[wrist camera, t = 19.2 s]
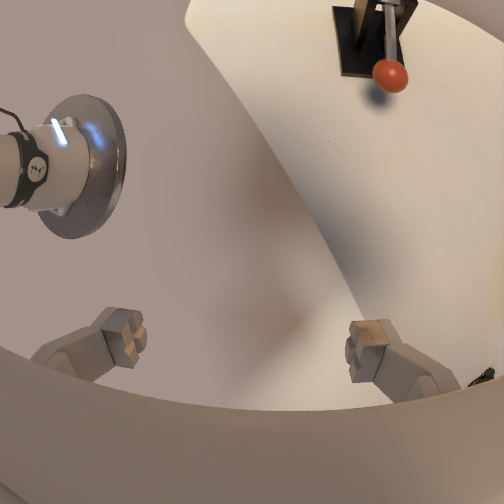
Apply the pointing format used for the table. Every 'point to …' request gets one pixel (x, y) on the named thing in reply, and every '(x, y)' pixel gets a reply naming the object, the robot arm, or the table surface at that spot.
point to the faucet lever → (390, 54)
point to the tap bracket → (366, 35)
